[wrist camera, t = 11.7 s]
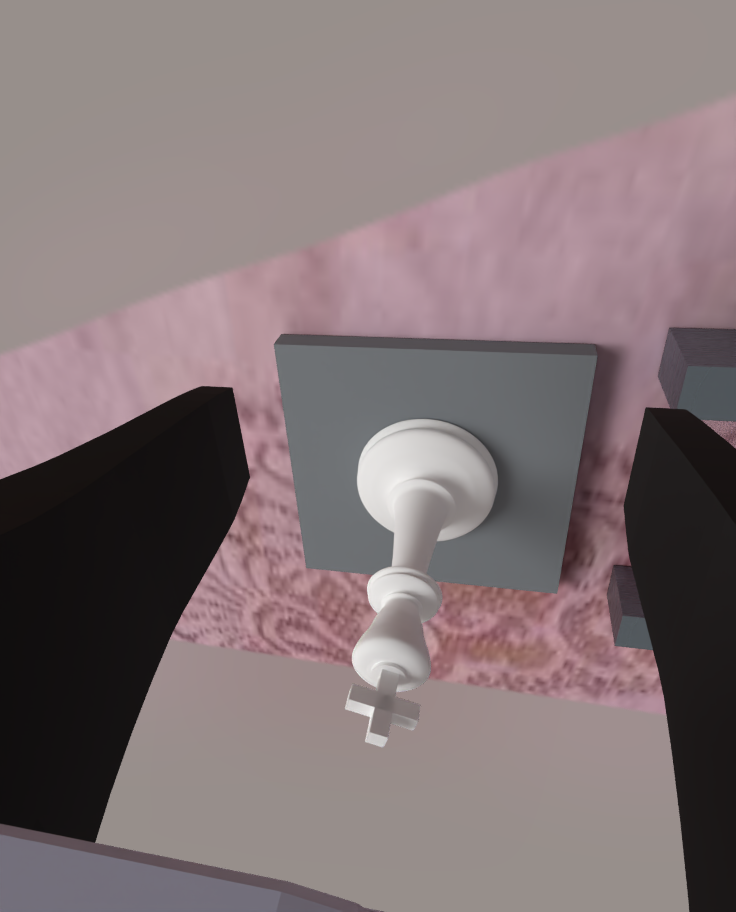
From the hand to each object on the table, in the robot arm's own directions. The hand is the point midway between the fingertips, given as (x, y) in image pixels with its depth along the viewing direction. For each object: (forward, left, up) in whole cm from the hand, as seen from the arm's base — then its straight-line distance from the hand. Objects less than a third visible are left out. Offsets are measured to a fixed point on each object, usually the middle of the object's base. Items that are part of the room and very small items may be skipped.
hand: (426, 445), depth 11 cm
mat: (+1, +7, -9) cm, 12 cm away
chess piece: (+1, +7, -9) cm, 11 cm away
